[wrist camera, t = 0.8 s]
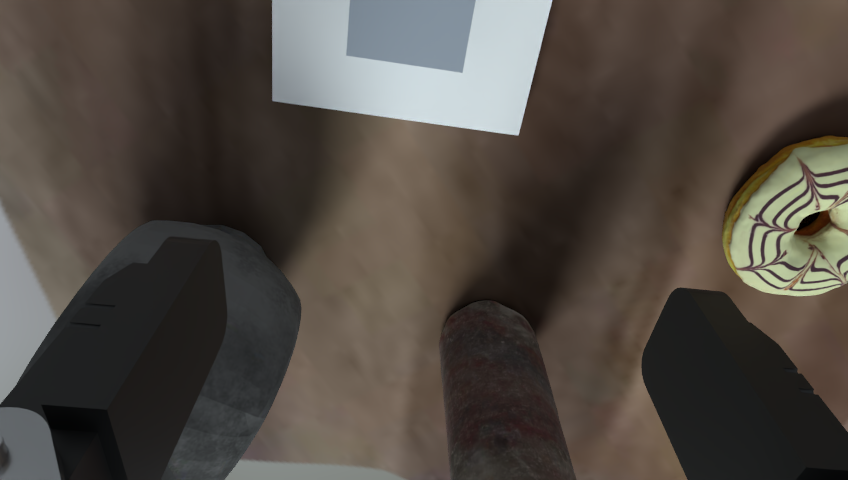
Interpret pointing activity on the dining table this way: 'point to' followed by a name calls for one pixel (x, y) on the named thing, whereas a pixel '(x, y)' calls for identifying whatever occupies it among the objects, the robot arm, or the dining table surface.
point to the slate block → (411, 31)
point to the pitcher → (240, 351)
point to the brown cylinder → (499, 399)
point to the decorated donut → (792, 221)
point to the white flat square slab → (410, 67)
